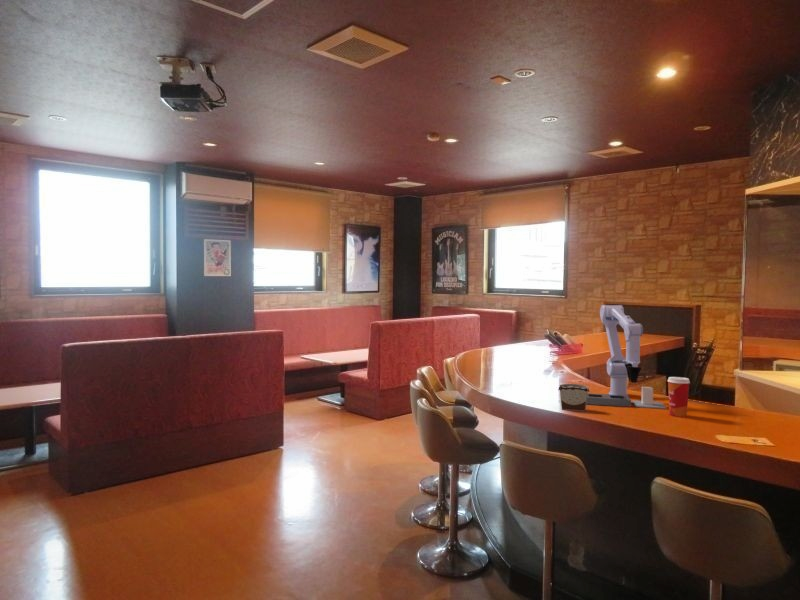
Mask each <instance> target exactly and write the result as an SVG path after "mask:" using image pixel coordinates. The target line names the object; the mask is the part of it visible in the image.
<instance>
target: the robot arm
mask: <svg viewBox="0 0 800 600" xmlns="http://www.w3.org/2000/svg"><path fill="white" fill-rule="evenodd" d="M599 309H600V310H599V317H600V320H601V324H603V325H604V327H605V332H606V337H607V342H608V346H609V353H610V356H611V357H610V358H608V359H607V361H606V373H607V375H608V376H609V377H610V391H608V394H610V395H628V393H627V392H628V380H629V381H630V383H636V384H637V382H638V379H639V376H640V375H639V374H640V372H641V370H642V367H641V366H639V364H640V363H641V337H642V336H643V335H644V334H643V333H644V328H643V325H642V323H636V322H635V320H634V319H633V318H632V317H631V316H630V315H626V314H625V309H624V306H623V305H622V304H618V305H617V304H616V305H615V304H614V305H612V304H611V305H609V304H603V305H602V304H601V306H600V308H599ZM617 325H619V326H620V327H621V328H622V329H623V332H624V339H625V356H624V355H623V353H622V348H621V343H620V342H621V341H620V339H619V333H618V328H617ZM628 397H629V398H630V396H629V395H628Z"/></svg>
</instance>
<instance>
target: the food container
mask: <svg viewBox="0 0 800 600" xmlns="http://www.w3.org/2000/svg"><path fill="white" fill-rule="evenodd" d="M558 391H559V397H560V404H561V411H575V412H577V411H579V412H586V408H587V404H586V402H587V395H588V393H590V388H589V386H587V385H583V384H576V383H566V384H565V383H562V384H560V385H559V386H558Z"/></svg>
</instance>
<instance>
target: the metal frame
mask: <svg viewBox="0 0 800 600" xmlns="http://www.w3.org/2000/svg"><path fill="white" fill-rule="evenodd" d="M628 396H629V395H628V394H627V395H610V394H609V393H608V394H607V393H592V392H591V393H590V392H588V395H587V402H586V405H593V406H610V407H627V408H631V407H632V400H631V398H630V396H629V397H628Z"/></svg>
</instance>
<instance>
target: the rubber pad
mask: <svg viewBox="0 0 800 600" xmlns="http://www.w3.org/2000/svg"><path fill="white" fill-rule="evenodd" d="M631 404H633V405H634V407H635V408H643V409H656V410H657V409H658V410H659V409H660V410H667V409H668V408H667V407H666V406H665V405H664V403H662V402H661V401H653V405H644V404H642V403H641V400H634V399H632V400H631Z"/></svg>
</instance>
